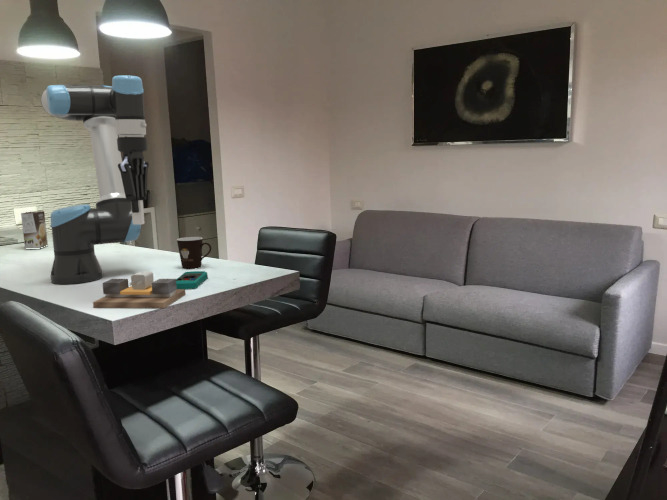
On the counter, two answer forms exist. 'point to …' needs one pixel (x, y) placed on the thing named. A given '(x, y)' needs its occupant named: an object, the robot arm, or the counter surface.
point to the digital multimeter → (191, 279)
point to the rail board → (160, 297)
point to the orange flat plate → (136, 291)
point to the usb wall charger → (142, 280)
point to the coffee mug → (191, 252)
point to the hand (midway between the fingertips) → (138, 223)
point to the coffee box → (34, 229)
